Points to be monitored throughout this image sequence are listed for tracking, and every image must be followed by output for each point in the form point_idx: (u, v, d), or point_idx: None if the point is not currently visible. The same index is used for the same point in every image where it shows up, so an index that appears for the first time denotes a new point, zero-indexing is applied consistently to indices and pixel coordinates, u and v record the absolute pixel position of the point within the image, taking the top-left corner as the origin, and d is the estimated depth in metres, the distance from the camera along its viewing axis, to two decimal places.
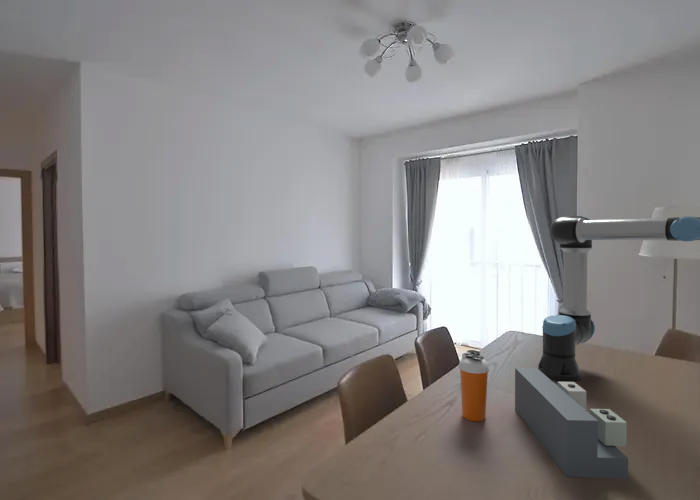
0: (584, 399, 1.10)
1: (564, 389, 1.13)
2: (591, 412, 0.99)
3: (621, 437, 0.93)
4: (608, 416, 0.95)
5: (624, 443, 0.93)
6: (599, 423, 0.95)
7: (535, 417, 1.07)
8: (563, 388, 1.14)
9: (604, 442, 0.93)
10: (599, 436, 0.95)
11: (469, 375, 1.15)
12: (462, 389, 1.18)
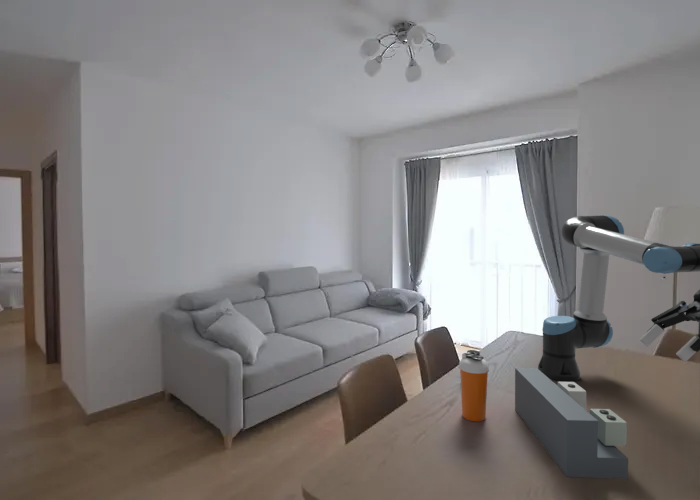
0: (584, 399, 1.10)
1: (564, 389, 1.13)
2: (591, 412, 0.99)
3: (621, 437, 0.93)
4: (608, 416, 0.95)
5: (624, 443, 0.93)
6: (599, 423, 0.95)
7: (535, 417, 1.07)
8: (563, 388, 1.14)
9: (604, 442, 0.93)
10: (599, 436, 0.95)
11: (469, 375, 1.15)
12: (462, 389, 1.18)
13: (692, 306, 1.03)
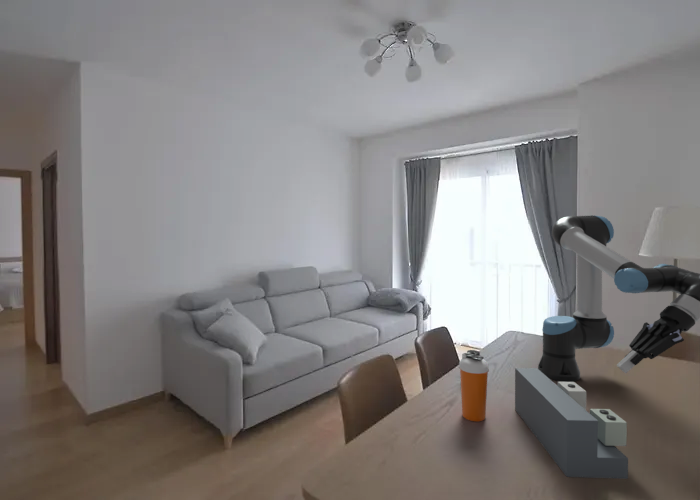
0: (584, 399, 1.10)
1: (564, 389, 1.13)
2: (591, 412, 0.99)
3: (621, 437, 0.93)
4: (608, 416, 0.95)
5: (624, 443, 0.93)
6: (599, 423, 0.95)
7: (535, 417, 1.07)
8: (563, 388, 1.14)
9: (604, 442, 0.93)
10: (599, 436, 0.95)
11: (469, 375, 1.15)
12: (462, 389, 1.18)
13: (658, 323, 1.10)
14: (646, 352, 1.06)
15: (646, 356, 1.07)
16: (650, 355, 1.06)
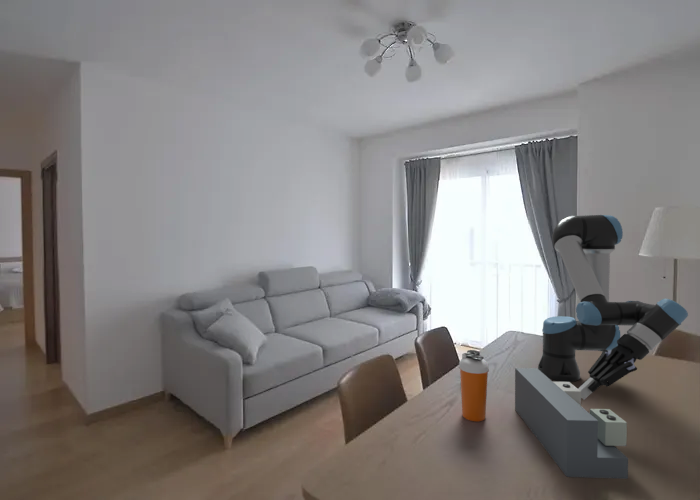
0: (579, 399, 1.10)
1: None
2: (591, 412, 0.99)
3: (621, 437, 0.93)
4: (608, 416, 0.95)
5: (624, 443, 0.93)
6: (599, 423, 0.95)
7: (535, 417, 1.07)
8: None
9: (604, 442, 0.93)
10: (599, 436, 0.95)
11: (469, 375, 1.15)
12: (462, 389, 1.18)
13: (615, 351, 1.13)
14: (602, 380, 1.10)
15: (602, 384, 1.10)
16: (606, 383, 1.09)
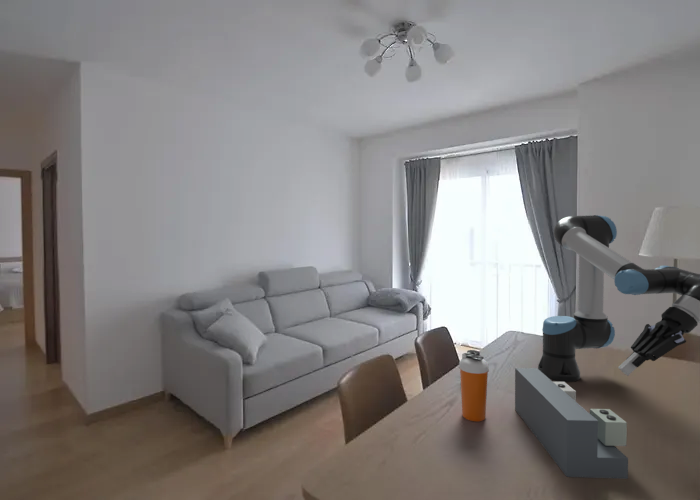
0: (574, 399, 1.11)
1: None
2: (591, 412, 0.99)
3: (621, 437, 0.93)
4: (608, 416, 0.95)
5: (624, 443, 0.93)
6: (599, 423, 0.95)
7: (535, 417, 1.07)
8: None
9: (604, 442, 0.93)
10: (599, 436, 0.95)
11: (469, 375, 1.15)
12: (462, 389, 1.18)
13: (660, 324, 1.08)
14: (648, 354, 1.05)
15: (648, 358, 1.05)
16: (652, 357, 1.04)
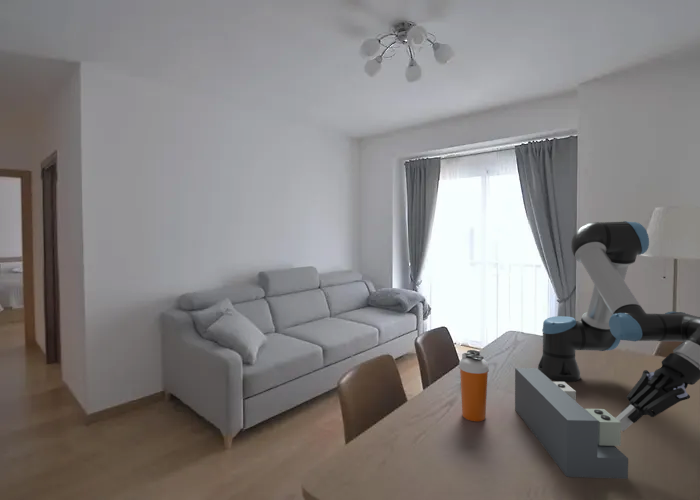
0: (574, 399, 1.11)
1: None
2: None
3: (615, 437, 0.93)
4: (602, 416, 0.95)
5: (618, 443, 0.93)
6: None
7: (535, 417, 1.07)
8: None
9: (598, 442, 0.93)
10: None
11: (469, 375, 1.15)
12: (462, 389, 1.18)
13: (660, 373, 0.95)
14: (646, 409, 0.92)
15: (646, 413, 0.92)
16: (651, 413, 0.91)
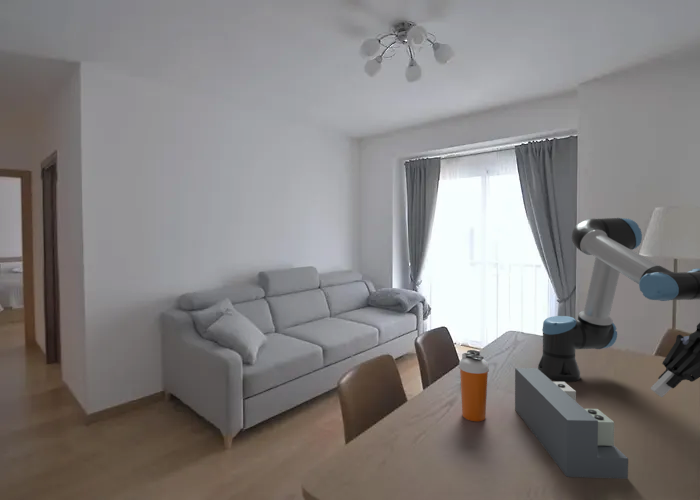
0: (574, 399, 1.11)
1: None
2: None
3: (609, 437, 0.93)
4: (596, 415, 0.95)
5: (612, 442, 0.93)
6: None
7: (535, 417, 1.07)
8: None
9: None
10: None
11: (469, 375, 1.15)
12: (462, 389, 1.18)
13: (696, 337, 0.95)
14: (686, 374, 0.92)
15: (685, 378, 0.93)
16: (690, 378, 0.92)
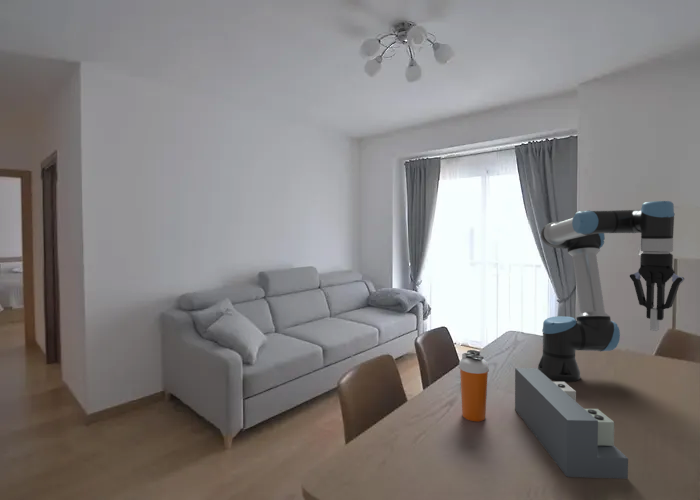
0: (574, 399, 1.11)
1: None
2: None
3: (609, 437, 0.93)
4: (596, 415, 0.95)
5: (612, 442, 0.93)
6: None
7: (535, 417, 1.07)
8: None
9: None
10: None
11: (469, 375, 1.15)
12: (462, 389, 1.18)
13: (649, 273, 1.12)
14: (668, 307, 1.10)
15: None
16: (670, 306, 1.10)
